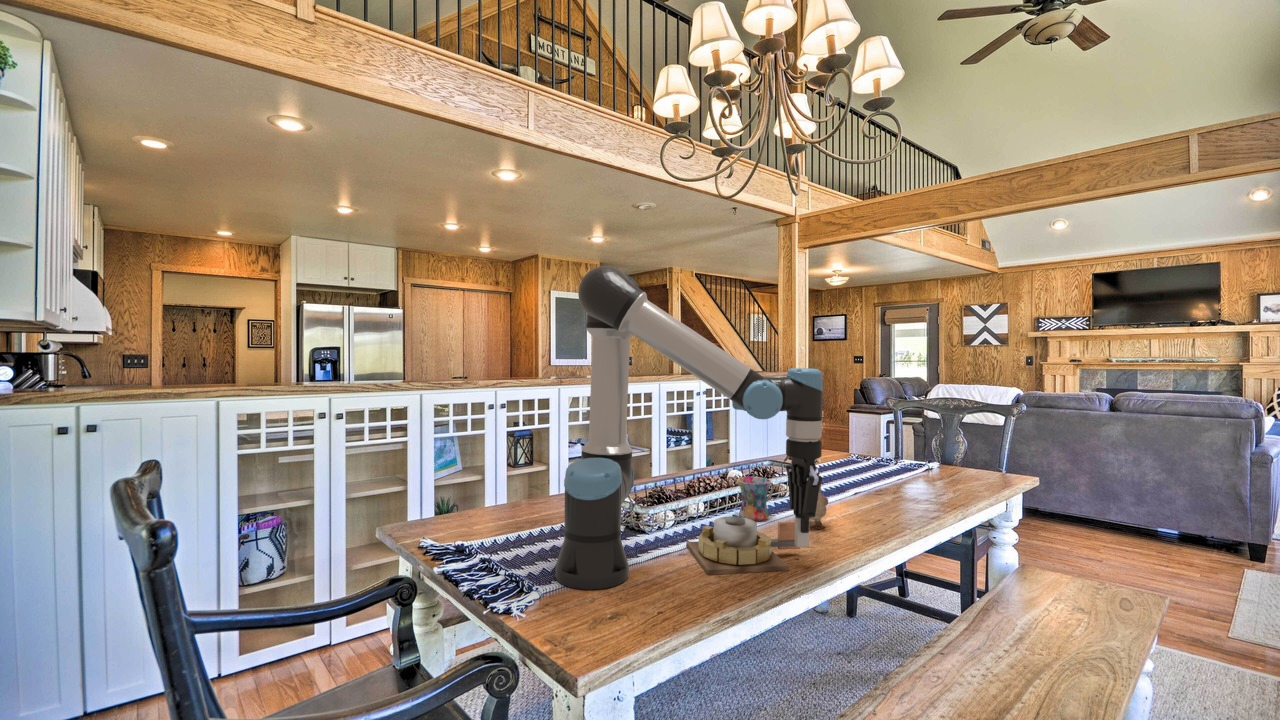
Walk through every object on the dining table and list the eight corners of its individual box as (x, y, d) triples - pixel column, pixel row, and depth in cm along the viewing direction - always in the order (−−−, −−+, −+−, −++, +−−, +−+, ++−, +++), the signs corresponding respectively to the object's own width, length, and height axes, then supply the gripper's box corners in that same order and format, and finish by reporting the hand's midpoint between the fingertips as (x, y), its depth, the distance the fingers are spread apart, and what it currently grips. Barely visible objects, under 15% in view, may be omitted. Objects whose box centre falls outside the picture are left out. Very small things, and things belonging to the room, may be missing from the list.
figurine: (791, 529, 157) (793, 473, 157) (793, 519, 166) (794, 466, 166) (828, 533, 154) (829, 475, 154) (827, 522, 164) (828, 468, 163)
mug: (753, 524, 161) (753, 485, 161) (730, 516, 169) (730, 478, 169) (784, 518, 168) (785, 480, 167) (761, 510, 175) (762, 474, 175)
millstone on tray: (711, 566, 127) (711, 537, 126) (691, 541, 142) (691, 516, 142) (814, 560, 131) (815, 533, 130) (784, 537, 146) (785, 512, 146)
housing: (707, 574, 125) (708, 533, 125) (685, 545, 144) (686, 508, 144) (788, 570, 129) (789, 529, 128) (756, 541, 147) (757, 506, 147)
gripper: (834, 443, 125) (832, 555, 126) (806, 434, 138) (804, 535, 138) (800, 444, 124) (798, 557, 124) (775, 434, 136) (773, 537, 137)
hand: (801, 545), depth 131 cm, fingers closed
